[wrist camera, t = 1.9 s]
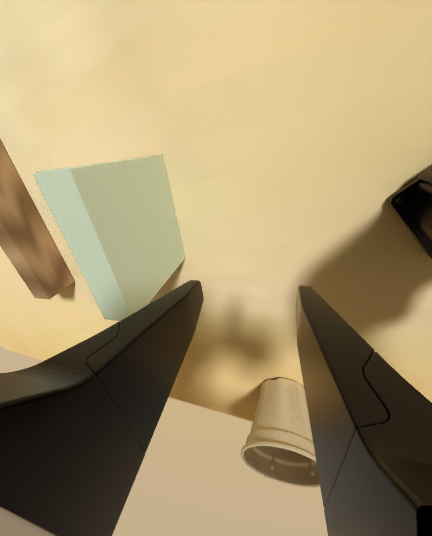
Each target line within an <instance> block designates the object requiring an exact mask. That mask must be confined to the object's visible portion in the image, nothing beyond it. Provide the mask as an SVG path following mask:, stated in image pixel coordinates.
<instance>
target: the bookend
mask: <svg viewBox="0 0 432 536" xmlns="http://www.w3.org/2000/svg"><path fill="white" fill-rule="evenodd" d="M36 173H37V174H33V176H34V178H35V180H36V182H37V184H38V186H39V188H40V190H41V192H42V194H43V196H44V198H45V200H46V202H47V204H48V206H49V208H50V210H51V212H52V214H53V216H54V218H55V220H56V222H57V224H58V226H59V228H60V230H61V232H62V234H63V236H64V238H65V240H66V242H67V244H68V246H69V248H70V250H71V252H72V254H73V256H74V258H75V260H76V262H77V264H78V266H79V268H80V270H81V272H82V274H83V276H84V278H85V280H86V282H87V284H88V286H89V288H90V290H91V292H92V294H93V296H94V298H95V300H96V302H97V305H98V307H99V309H100V311H101V313H102V315H103V317H104V319H108V320H117V321H121V320H123V319H124V318H126V317H128V316H130V315H131V314H133V313H135V312H137V311H138V310H140V309H142V308H143V307H145V306H147V305H148V304H149V303H150V301H151V300H152V299H153V298H154V296H155V295H156V294H157V293H158V291H159V290H160V289H161V288H162V286H163V285H164V284H165V283H166V281H167V280H168V279H169V278H170V276H171V275H172V274H173V273H174V271H175V270H176V269H177V268H178V266H179V265H180V264H181V263H182V261H183V260H184V259H185V253H184V249H183V244H182V240H181V235H180V230H179V226H178V221H177V216H176V212H175V207H174V203H173V198H172V193H171V189H170V184H169V179H168V175H167V170H166V166H165V161H164V156H163V154H162V155H155V156H148V157H141V158H133V159H126V160H119V161H112V162H105V163H97V164H90V165H83V166H76V167H69V168H61V169H54V170H48V171H41V172H36Z"/></svg>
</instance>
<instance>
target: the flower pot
mask: <svg viewBox="0 0 432 536" xmlns="http://www.w3.org/2000/svg"><path fill="white" fill-rule="evenodd" d="M241 457H242V459H243V461H244V462H245V463H246V464H247V465H248V466H249V467H250V468H251V469H253V470H254V471H256V472H258V473H259V474H261V475H264V476H265V477H268V478H270V479H273V480H276V481H279V482H283V483H286V484H290V485H295V486H302V487H319V486H320V481H319V475H318V469H317V463H316V457H315V451H314V444H313V438H312V432H311V426H310V420H309V414H308V408H307V401H306V395H305V390H304V388H303V387H302V386H301V385H300V384H298V383H297V382H295V381H292V380H289V379H285V378H278V379H276V380H271V379H268V380H266V381H265V382H263V384H262V386H261V390H260V395H259V399H258V403H257V407H256V412H255V416H254V420H253V424H252V428H251V432H250V434H249V435H248V437H247V441H246V445H245V446H243V448H242V450H241Z"/></svg>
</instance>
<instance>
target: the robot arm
mask: <svg viewBox="0 0 432 536" xmlns="http://www.w3.org/2000/svg"><path fill="white" fill-rule="evenodd" d="M398 197H401V200H400V201H399V202H397V203H396V202H395V200H396V199H397V198H398ZM389 204H390V205H391V206H392V208H393V209H394V210H395V212H396V213H397V214H398V216H399V217H400V219H401V220H402V221H403V223H404V224H405V225H406V227H407V228H408V229H409V231H410V232H411V233H412V235H413V236H414V237H415V239H416V240H417V241H418V243H419V244H420V245H421V247H422V248H423V249H424V251H425V252H426V253H427V255H428V256H429V257H430V258H432V165H431V166H430V167H428V168H427V169H425V170H424V171H422V172H421V173H420V174H419V176H418V178H417V179H415V180H414V181H412V182H411V183H409V184H408V185H406V186H404V187H403V188H401V189H400V190H398V191H397V192H395V193H394V194H392V195H391V196H390V198H389ZM202 304H203V292H202V287H201V283H200V281H197V280H190V281H188V282H187V283H185V284H183V285H181V286H180V287H178V288H176V289H174V290H173V291H171V292H169V293H168V294H166V295H164V296H162V297H161V298H159V299H157V300H155V301H154V302H152V303H150V304H149V305H147V306H145V307H143V308H142V309H140V310H138V311H137V312H135V313H133V314H131V315H130V316H128V317H126V318H124V319H123V320H121V322H117V323H116V324H114V325H112V326H111V327H109V328H107V329H105V330H103V331H102V332H100V333H98V334H96V335H94V336H92V337H91V338H89V339H87V340H85V341H83V342H81V343H79V344H77V345H75V346H73V347H71V348H69V349H67V350H65V351H63V352H61V353H59V354H57V355H55V356H53V357H51V358H49V359H47V360H45V361H43V362H41V363H39V364H37V365H35V366H32V367H29V368H26V369H23V370H19V371H14V372H8V373H0V536H112V534H113V531H114V529H115V527H116V524H117V522H118V519H119V517H120V515H121V512H122V510H123V507H124V505H125V502H126V500H127V497H128V495H129V492H130V490H131V487H132V485H133V483H134V480H135V478H136V475H137V473H138V470H139V468H140V465H141V463H142V461H143V458H144V456H145V452H146V450H147V448H148V445H149V443H150V441H151V438H152V436H153V433H154V431H155V428H156V426H157V423H158V421H159V419H160V416H161V414H162V411H163V409H164V406H165V403H166V401H167V399H168V396H169V394H170V392H171V389H172V387H173V384H174V382H175V379H176V377H177V374H178V372H179V369H180V367H181V365H182V362H183V360H184V357H185V355H186V352H187V350H188V347H189V345H190V342H191V340H192V338H193V335H194V332H195V329H196V325H197V322H198V318H199V315H200V311H201V307H202ZM296 317H297V345H298V352H299V358H300V365H301V371H302V377H303V383H304V389H305V395H306V401H307V408H308V414H309V420H310V426H311V432H312V438H313V444H314V451H315V457H316V463H317V469H318V475H319V481H320V487H321V493H322V499H323V505H324V508H325V509H324V512H325V519H326V524H327V531H328V536H432V403H431V402H430V401H429V400H428V399H426V398H425V397H424V396H423V395H422V394H421V393H420V392H419V391H417V390H416V389H415V388H414V387H413V386H412V385H411V384H409V383H408V382H407V381H406V380H405V379H404V378H403V377H402V376H401V375H400V374H399V373H397V372H396V371H395V370H394V369H393V368H392V367H391V366H390V365H389V364H388V363H387V362H386V361H385V360H384V359H383V358H382V357H381V356H380V355H379V354H378V353H377V352H374V349H373V348H372V347H371V346H370V345H369V344H368V343H367V342H366V341H365V340H364V339H363V338H362V337H361V336H360V335H359V334H358V333H357V332H356V331H355V330H354V329H353V328H352V327H351V326H350V325H349V324H348V323H347V322H346V321H345V320H344V319H343V318H342V317H341V316H340V315H339V314H338V313H337V312H336V311H335V310H334V309H333V308H332V307H331V306H330V305H329V304H328V303H327V302H326V301H325V300H324V299H323V298H322V297H321V296H320V295H319V294H318V293H317V292H316V291H315V290H314V289H313V288H312V287H310V286H298V290H297V302H296Z"/></svg>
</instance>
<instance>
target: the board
mask: <svg viewBox="0 0 432 536" xmlns="http://www.w3.org/2000/svg"><path fill="white" fill-rule="evenodd" d="M0 246H1V247H2V249H3V250H4V252H5V253H6V255H7V256H8V258H9V259H10V261H11V262H12V264H13V265H14V267H15V268H16V270H17V272H18V273H19V275H20V276H21V278H22V279H23V281H24V282H25V284H26V285H27V287H28V288H29V290H30V291H31V293H32V294H33V296H34V297H35V298H41V299H51V298H52V297H53V296H55V295H56V294H58V293H59V292H61V291H62V290H63V289H65V288H66V287H68V286H69V285H71V284H72V283H73V282H75V281H74V279H73V277H72V275H71V273H70V271H69V269H68V267H67V266H66V264H65V262H64V260H63V258H62V256H61V254H60V252H59V250H58V248H57V247H56V245H55V243H54V241H53V239H52V237H51V235H50V233H49V231H48V229H47V228H46V226H45V224H44V222H43V220H42V218H41V216H40V214H39V212H38V210H37V209H36V207H35V205H34V203H33V201H32V199H31V197H30V195H29V193H28V191H27V189H26V188H25V186H24V184H23V182H22V180H21V178H20V176H19V174H18V172H17V170H16V169H15V167H14V165H13V163H12V161H11V159H10V157H9V155H8V153H7V151H6V150H5V148H4V146H3V144H2V142H1V140H0Z"/></svg>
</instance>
